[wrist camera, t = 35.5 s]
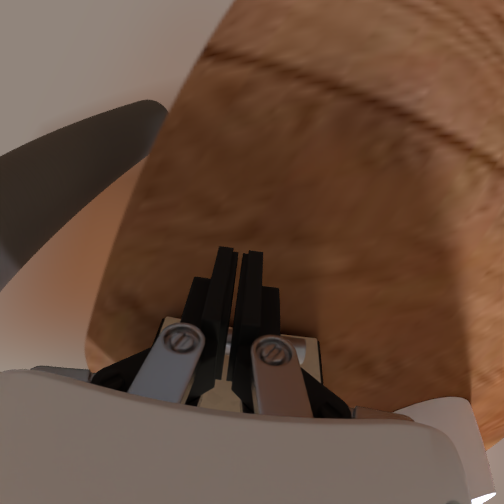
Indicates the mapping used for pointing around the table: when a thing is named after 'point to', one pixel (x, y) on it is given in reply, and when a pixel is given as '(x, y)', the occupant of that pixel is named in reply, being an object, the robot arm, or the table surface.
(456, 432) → the cylinder
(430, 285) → the table surface
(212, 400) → the drawer
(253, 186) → the table surface
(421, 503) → the robot arm
